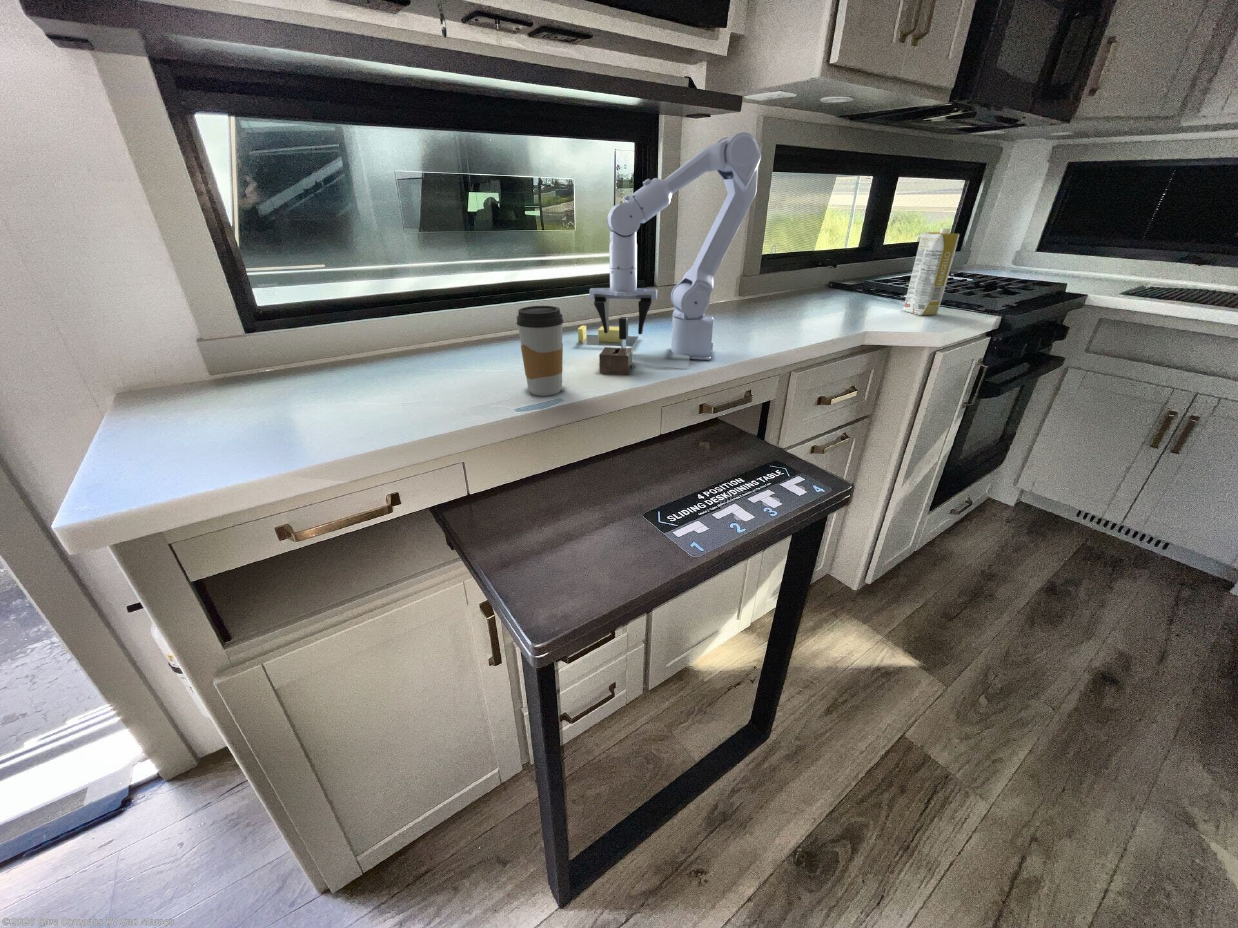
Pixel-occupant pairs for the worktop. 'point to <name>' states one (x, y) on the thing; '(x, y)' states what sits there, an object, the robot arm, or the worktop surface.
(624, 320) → the knife
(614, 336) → the butter block
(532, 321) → the coffee cup
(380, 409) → the worktop surface
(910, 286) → the juice carton
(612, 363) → the knife block
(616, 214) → the robot arm
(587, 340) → the butter dish
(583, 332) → the butter slice
